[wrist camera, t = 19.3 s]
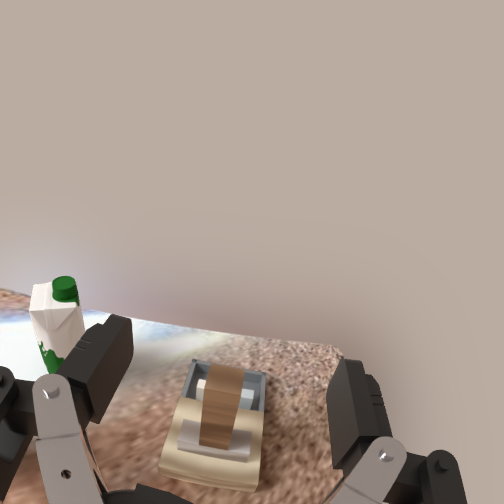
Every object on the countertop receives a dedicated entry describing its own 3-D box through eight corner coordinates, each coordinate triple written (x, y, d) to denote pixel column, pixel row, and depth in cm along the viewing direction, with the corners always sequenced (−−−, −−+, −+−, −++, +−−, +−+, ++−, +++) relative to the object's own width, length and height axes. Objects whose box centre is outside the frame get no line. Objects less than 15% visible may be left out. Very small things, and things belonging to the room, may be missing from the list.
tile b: (253, 399, 49) (254, 390, 51) (229, 394, 49) (230, 386, 51) (249, 412, 51) (250, 404, 52) (226, 408, 51) (228, 400, 52)
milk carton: (96, 388, 48) (78, 297, 40) (50, 392, 44) (21, 301, 36) (91, 355, 55) (77, 267, 47) (49, 358, 51) (28, 271, 43)
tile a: (220, 392, 49) (222, 383, 51) (196, 387, 49) (198, 378, 51) (218, 405, 51) (219, 397, 53) (195, 401, 51) (197, 393, 53)
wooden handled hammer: (246, 463, 38) (268, 399, 32) (177, 449, 38) (177, 381, 32) (248, 441, 42) (270, 373, 35) (183, 429, 42) (185, 357, 35)
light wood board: (253, 492, 36) (258, 484, 35) (159, 474, 36) (157, 465, 35) (260, 423, 49) (263, 412, 48) (179, 408, 49) (179, 396, 48)
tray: (260, 421, 49) (263, 412, 48) (180, 406, 50) (180, 396, 48) (263, 382, 58) (266, 372, 57) (192, 369, 58) (192, 358, 57)
